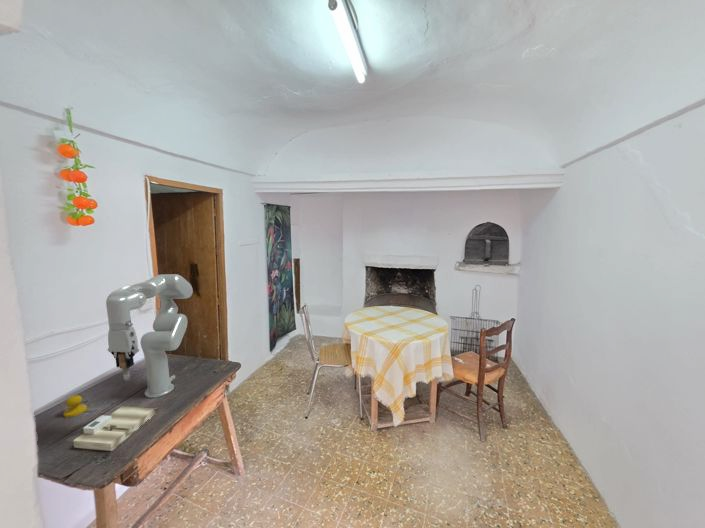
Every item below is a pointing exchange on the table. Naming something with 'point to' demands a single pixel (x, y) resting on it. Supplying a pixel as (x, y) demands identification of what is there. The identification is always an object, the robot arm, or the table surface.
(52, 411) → the table surface
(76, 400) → the doorknob
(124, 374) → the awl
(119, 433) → the cream slotted tray
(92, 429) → the block
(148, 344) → the robot arm
